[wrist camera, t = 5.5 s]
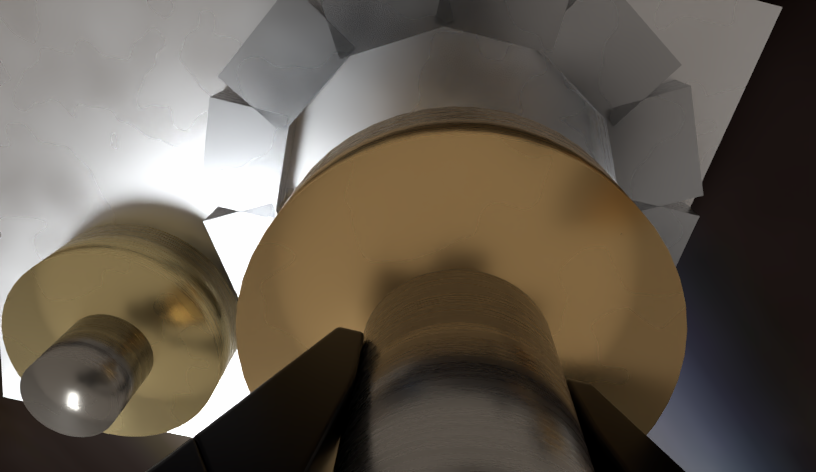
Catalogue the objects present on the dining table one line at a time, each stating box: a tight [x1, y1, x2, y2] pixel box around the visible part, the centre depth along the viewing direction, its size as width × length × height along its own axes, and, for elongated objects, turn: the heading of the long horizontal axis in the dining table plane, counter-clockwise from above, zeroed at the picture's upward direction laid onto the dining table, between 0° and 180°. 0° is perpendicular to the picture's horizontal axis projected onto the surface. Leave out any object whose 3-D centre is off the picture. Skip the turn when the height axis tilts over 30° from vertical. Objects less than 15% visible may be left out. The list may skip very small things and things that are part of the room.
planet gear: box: [236, 107, 687, 472], centre depth 8 cm, size 7×7×6 cm
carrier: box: [0, 0, 782, 437], centre depth 15 cm, size 19×17×5 cm
